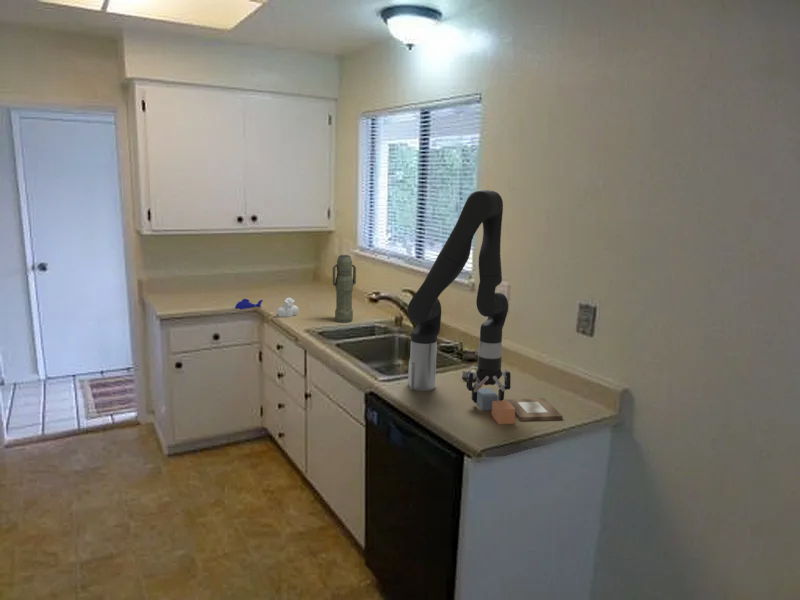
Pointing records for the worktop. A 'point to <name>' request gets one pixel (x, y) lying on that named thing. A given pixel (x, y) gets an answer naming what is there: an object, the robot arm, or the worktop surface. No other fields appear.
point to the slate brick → (486, 398)
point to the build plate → (534, 409)
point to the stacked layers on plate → (473, 369)
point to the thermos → (344, 288)
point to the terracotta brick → (503, 412)
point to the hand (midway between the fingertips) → (487, 401)
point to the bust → (288, 308)
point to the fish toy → (247, 304)
